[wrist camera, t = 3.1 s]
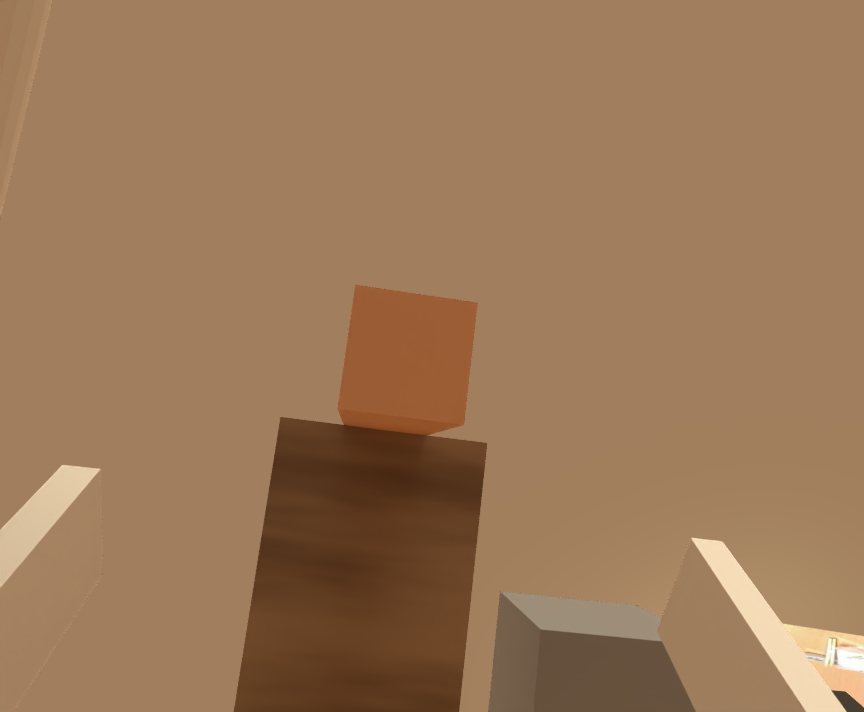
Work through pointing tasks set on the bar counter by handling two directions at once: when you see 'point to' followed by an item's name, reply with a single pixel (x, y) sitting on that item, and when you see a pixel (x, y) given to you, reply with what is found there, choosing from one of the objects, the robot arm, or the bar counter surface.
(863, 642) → the bar counter surface
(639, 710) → the low post
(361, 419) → the beam
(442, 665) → the tall post
